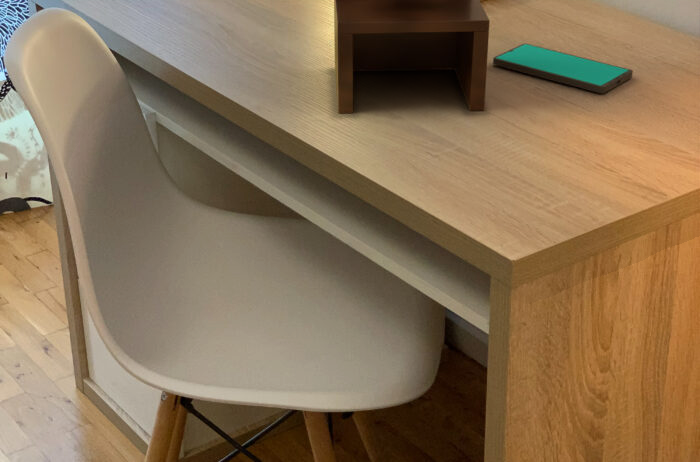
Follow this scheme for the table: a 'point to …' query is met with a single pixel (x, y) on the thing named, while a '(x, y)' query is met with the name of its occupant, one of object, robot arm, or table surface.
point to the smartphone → (563, 68)
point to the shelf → (411, 42)
